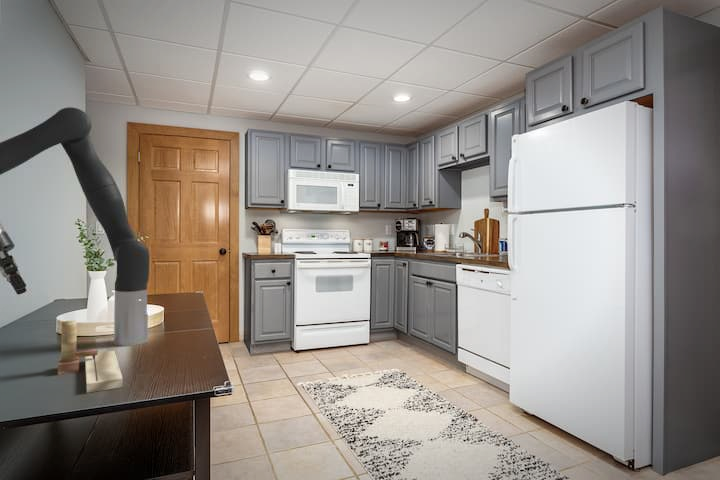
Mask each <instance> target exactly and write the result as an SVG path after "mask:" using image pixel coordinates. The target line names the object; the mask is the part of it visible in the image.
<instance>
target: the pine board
mask: <svg viewBox="0 0 720 480" xmlns="http://www.w3.org/2000/svg"><path fill="white" fill-rule="evenodd" d="M84 363H85V364H84V365H85V366H84V367H85V381H86V385H85V387H86V394H89V393H95V392H102V391H106V390H111V389H118V388H123V385H124V383H123V380H124V379H123V374H122V372H121V369H120V364H119V361H118V358H117V355H116V351H115V350H110V351H103V352H102V351H101V352H100V351H99V352H98V355H95V358H93V356H85V357H84Z"/></svg>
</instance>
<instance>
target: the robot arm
mask: <svg viewBox="0 0 720 480" xmlns="http://www.w3.org/2000/svg"><path fill="white" fill-rule="evenodd" d="M91 129H92V121H91V119H90V116H89V115H88V114H87V113H86V112H85V111H84V110H82V109H80V108H77V107H70V106H69V107H64V108H61V109H59V110H57V112H55V114H53V115H52V116H50V117H49V118H48V119H46V120H44V121H43V122H42V123H40V124H38V125H35V126H34V127H31V128H30V129H29V130H26V131H24V132H23V133H20V134H17V135H15V136H13V137H10V138H7V139H5V140H3V141H1V142H0V176H1V175H2V174H5V173H7V172H9V171H11V170H13V169H15V168H17V167H19V166H21V165H23V164H25V163H26V162H28V161H29V160H31V159H33V158H34V157H35V156H38V155H39V154H41V153H43V152H45V151H47V150H48V149H50V148H53V147H54V146H57V145H61V146H62V148H63V149H64V151H65V152H66V154H67V156H68V159H69V160H70V162H71V164H72V168H73V171H74V173H75V175H76V178H77V180H78V183H79V185H80V187H81V190H82V192H83V195H84V197H85V198H86V201H87V202H88V203H87V204H89V206H90V208H91V210H92V212H93V214H94V216H95V217H96V219H97V221H98V223H99V224H100V226H101V227H102V229H103V231H104V233H105V235H106V237H107V239H108V243H109V245H110V250H111V252H112V256H113V258H114V260H115V262H116V277H115V282H114V318H113V319H114V322H113V324H114V326H113V336H114V337H113V340H114V341H113V344H114V345H115V346H118V347H129V346H130V347H132V346H137V345H141V344H146V343H148V340H149V339H148V337H149V336H148V331H149V330H148V328H149V324H148V323H149V320H148V319H149V314H148V283H149V279H150V261H151V260H150V251H149V249H148V247H147V245H146V244H145V243H143V242H141V241H139V240H138V238H137V236H136V235H135V232H134V231H133V229H132V227H131V225H130V223H129V220H128V216H127V211H126V207H125V202H124V199H123V196H122V194H121V192H120V189H119V187H118V185H117V183H116V180H115V179H114V177H113V174H111V173H110V171H109V170H108V168H107V167H106V166H105V165H104V163H103V161H102V160H101V159H100V157H99V156H98V154H97V152H96V150H95V148H94V145H93V143H92V140H91V137H90V132H91ZM14 248H15V243H14V242H13V240H12V239H11V237H10V236H9V233H8V232H7V231H6V229H5V228H4V226H3V225H2V223H1V222H0V274H1V275H2V277H3V278H5V279H6V282H8V283H9V284H10V285H11V286H12V288H13V290H14V291H15V293H16V294H17V295H22V294H24V293H26V292H27V291H28V290H27V288H26V287H27V284H26V282H25V281H24V279H23V277H22V276H21V274H20V270H19V269H18V268H19V267H18V265H17V262H16V261H15V258H14V257H13V255H12V254H10V255H9V252H10V251H12V250H13V249H14Z"/></svg>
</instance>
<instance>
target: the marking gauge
mask: <svg viewBox="0 0 720 480" xmlns="http://www.w3.org/2000/svg"><path fill="white" fill-rule="evenodd" d="M77 324H78V323H77V321H76V320H66V321H65V320H64V321H62V322H61V333H60V334H61V339H60V340H61V342H60V343H61V347H60V348H61V350H60V351H61V352H60V355H61V356H60V358H58V361H57V375H58V376H61V375H69V374H74V373H79V372H80V358H85V356H93V358H95V355H98V353H99V352H98V351H99V350H98V348H97V349H95V348H94V349H89V350H81V351H79V350H78V351H77V330H78V327H77V326H78V325H77Z"/></svg>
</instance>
